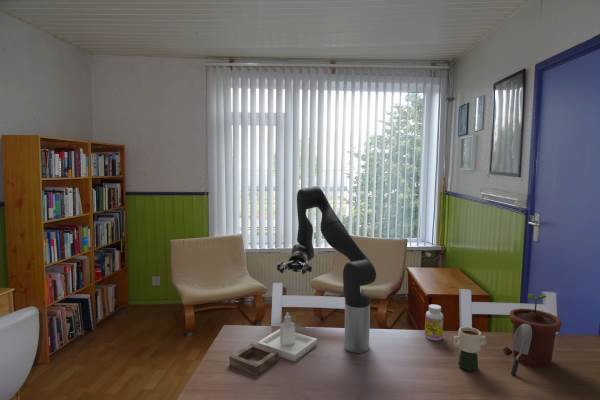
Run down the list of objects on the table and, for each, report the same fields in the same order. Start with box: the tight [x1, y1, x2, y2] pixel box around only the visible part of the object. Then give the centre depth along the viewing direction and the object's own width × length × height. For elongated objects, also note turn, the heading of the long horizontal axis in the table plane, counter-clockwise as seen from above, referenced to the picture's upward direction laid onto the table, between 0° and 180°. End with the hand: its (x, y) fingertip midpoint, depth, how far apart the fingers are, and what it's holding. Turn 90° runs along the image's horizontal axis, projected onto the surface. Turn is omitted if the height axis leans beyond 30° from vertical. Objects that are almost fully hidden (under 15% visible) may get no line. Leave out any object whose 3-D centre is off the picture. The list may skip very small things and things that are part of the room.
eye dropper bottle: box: [279, 312, 296, 346], centre depth 150 cm, size 4×6×12 cm
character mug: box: [452, 326, 487, 371], centre depth 136 cm, size 11×7×13 cm, turn 91°
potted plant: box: [502, 293, 562, 376], centre depth 140 cm, size 18×22×25 cm
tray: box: [256, 328, 318, 362], centre depth 151 cm, size 15×17×2 cm
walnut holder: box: [228, 343, 279, 376], centre depth 139 cm, size 12×12×3 cm
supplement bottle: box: [424, 303, 444, 341], centre depth 159 cm, size 7×7×13 cm
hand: (292, 271), depth 159 cm, fingers open, 8 cm apart
